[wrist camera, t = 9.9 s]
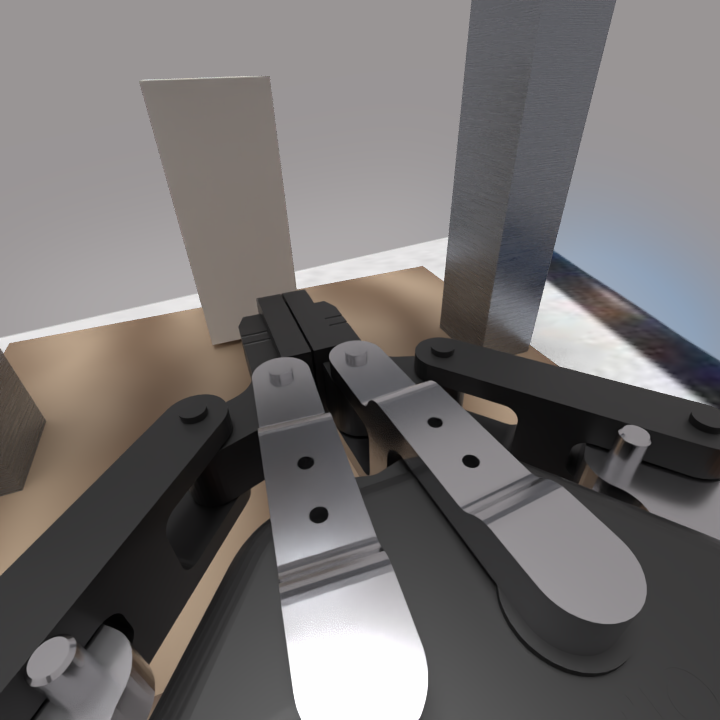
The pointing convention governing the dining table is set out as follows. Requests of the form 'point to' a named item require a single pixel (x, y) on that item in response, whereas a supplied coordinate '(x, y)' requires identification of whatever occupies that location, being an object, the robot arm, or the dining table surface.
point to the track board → (163, 389)
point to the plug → (225, 191)
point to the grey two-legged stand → (470, 185)
